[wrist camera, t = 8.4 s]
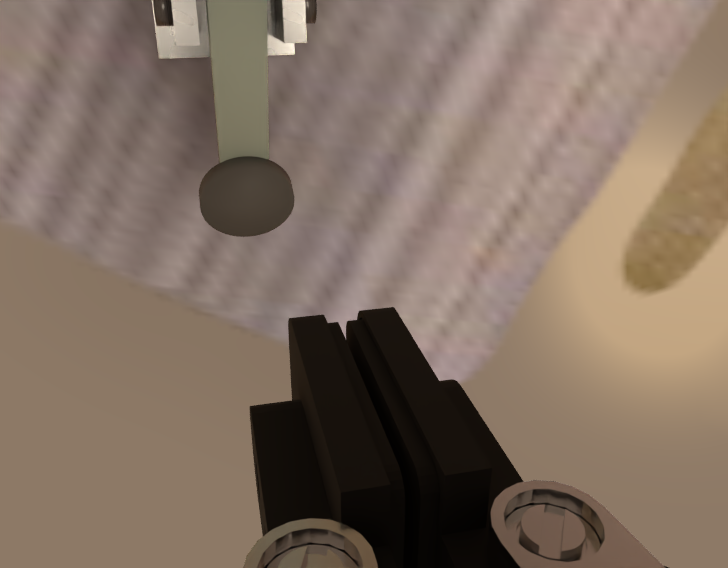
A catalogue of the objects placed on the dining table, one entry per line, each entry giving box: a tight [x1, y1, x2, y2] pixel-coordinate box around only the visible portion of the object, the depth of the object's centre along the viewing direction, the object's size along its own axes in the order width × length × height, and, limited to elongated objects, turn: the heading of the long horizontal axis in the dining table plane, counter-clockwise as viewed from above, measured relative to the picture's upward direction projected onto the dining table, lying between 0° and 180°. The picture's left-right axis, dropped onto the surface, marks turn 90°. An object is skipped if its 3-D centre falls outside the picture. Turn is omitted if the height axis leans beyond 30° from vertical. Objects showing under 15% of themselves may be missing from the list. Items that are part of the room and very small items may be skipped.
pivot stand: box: [152, 0, 316, 59], centre depth 22 cm, size 4×5×10 cm
